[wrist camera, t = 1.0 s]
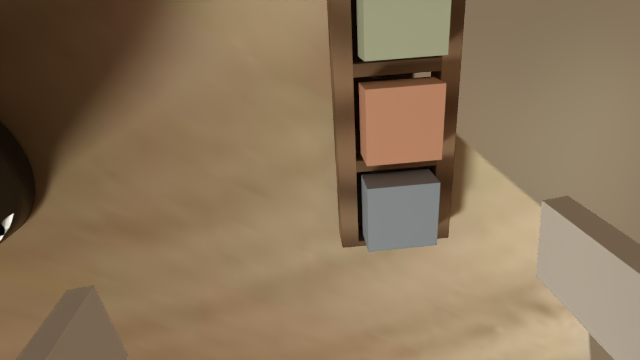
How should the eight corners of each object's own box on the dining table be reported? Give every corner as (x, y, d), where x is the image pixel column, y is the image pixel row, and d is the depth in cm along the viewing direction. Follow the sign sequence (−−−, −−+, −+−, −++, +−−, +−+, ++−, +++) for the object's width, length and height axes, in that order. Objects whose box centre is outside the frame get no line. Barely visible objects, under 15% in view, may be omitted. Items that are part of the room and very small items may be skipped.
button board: (439, 224, 40) (448, 237, 38) (339, 233, 40) (342, 247, 37) (455, -51, 30) (469, -56, 28) (324, -42, 30) (327, -46, 28)
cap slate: (362, 233, 38) (368, 251, 35) (361, 174, 35) (367, 189, 32) (426, 227, 38) (436, 245, 35) (428, 168, 35) (440, 182, 33)
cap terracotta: (360, 153, 34) (366, 166, 32) (358, 82, 32) (365, 89, 29) (429, 147, 34) (441, 159, 32) (433, 76, 32) (446, 83, 29)
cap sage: (358, 56, 31) (364, 61, 28) (355, -31, 29) (362, -35, 26) (434, 50, 31) (448, 54, 29) (438, -37, 29) (453, -41, 26)
